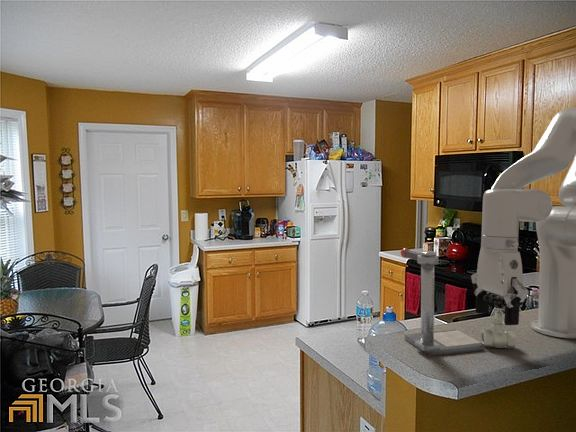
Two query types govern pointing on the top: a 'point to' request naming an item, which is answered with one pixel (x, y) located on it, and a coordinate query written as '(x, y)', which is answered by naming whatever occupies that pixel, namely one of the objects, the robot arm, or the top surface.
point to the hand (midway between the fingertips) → (496, 318)
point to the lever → (419, 257)
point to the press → (428, 338)
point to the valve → (498, 326)
